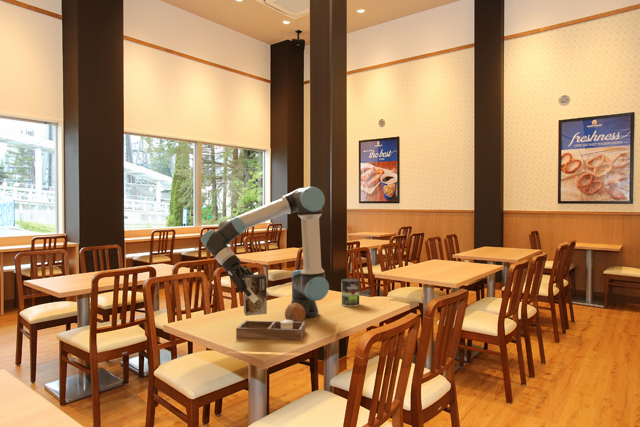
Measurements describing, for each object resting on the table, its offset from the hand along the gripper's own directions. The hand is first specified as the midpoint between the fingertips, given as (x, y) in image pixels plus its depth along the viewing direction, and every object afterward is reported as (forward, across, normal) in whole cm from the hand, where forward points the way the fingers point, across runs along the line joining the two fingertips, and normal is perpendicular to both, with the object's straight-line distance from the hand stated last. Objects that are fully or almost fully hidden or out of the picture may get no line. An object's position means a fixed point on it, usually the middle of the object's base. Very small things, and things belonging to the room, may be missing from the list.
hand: (261, 298), depth 173 cm
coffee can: (+28, -68, +5) cm, 74 cm away
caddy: (+14, -2, -9) cm, 17 cm away
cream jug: (+18, -3, -4) cm, 19 cm away
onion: (+16, -22, -7) cm, 29 cm away
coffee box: (+2, 0, -7) cm, 7 cm away
